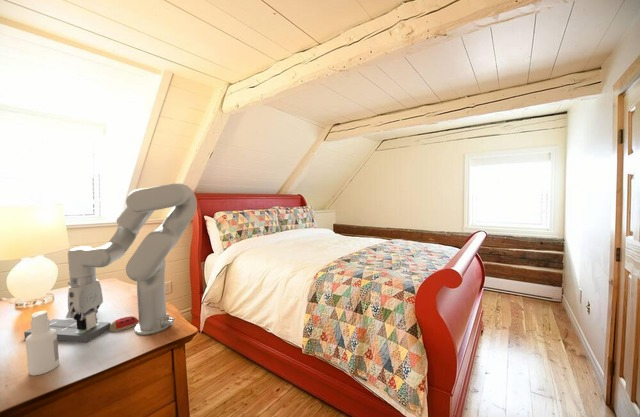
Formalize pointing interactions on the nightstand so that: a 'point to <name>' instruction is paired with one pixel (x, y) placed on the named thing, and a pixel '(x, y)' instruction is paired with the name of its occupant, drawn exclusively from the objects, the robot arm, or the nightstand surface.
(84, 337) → the mixing desk
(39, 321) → the white bottle
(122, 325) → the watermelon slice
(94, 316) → the fader knob
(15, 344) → the nightstand surface
